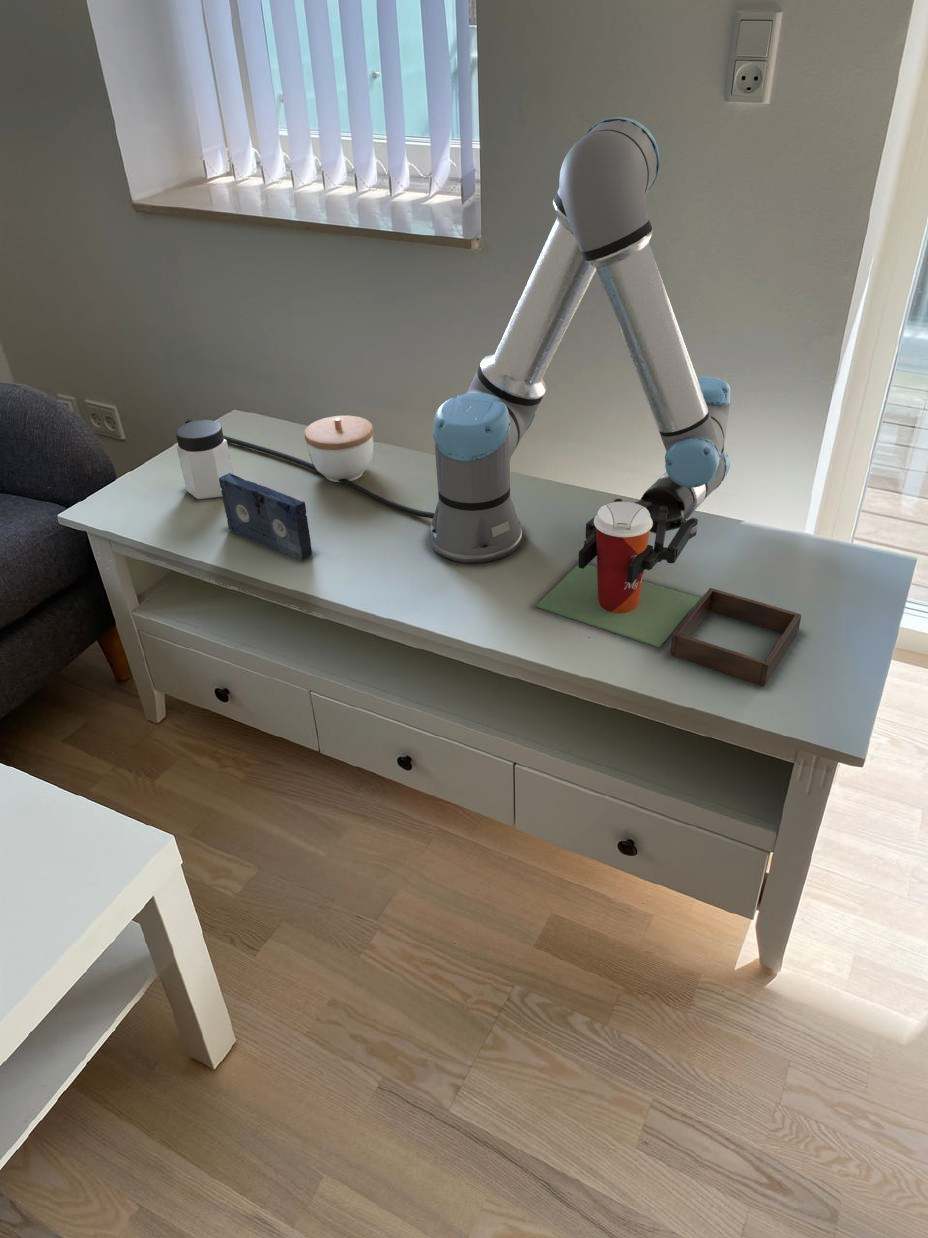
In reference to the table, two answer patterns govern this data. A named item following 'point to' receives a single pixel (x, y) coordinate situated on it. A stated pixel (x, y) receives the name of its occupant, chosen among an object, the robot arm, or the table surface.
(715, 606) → the crate
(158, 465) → the table surface
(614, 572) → the coffee cup
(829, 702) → the table surface
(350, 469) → the lidded bowl
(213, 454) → the jar
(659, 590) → the mat
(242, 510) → the vhs cassette tape
